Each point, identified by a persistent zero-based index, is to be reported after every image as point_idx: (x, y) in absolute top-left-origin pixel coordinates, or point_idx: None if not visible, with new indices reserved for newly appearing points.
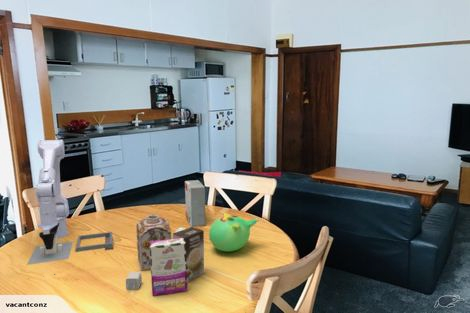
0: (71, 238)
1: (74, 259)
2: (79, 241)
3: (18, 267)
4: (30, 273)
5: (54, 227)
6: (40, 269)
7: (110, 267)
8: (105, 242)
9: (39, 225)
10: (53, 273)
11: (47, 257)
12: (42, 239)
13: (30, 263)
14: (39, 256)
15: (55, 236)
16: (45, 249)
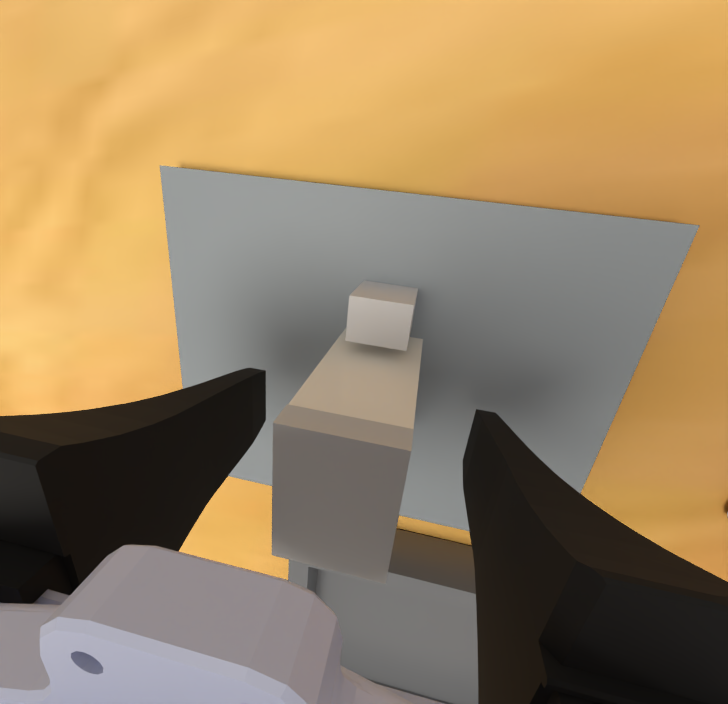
0: (717, 545)
1: (222, 486)
2: (430, 597)
3: (195, 79)
4: (62, 211)
5: (495, 679)
6: (117, 281)
7: None
8: (406, 672)
9: (69, 654)
10: (48, 360)
11: (265, 341)
12: (93, 413)
13: (179, 199)
14: (316, 274)
15: (279, 549)
16: (332, 349)
